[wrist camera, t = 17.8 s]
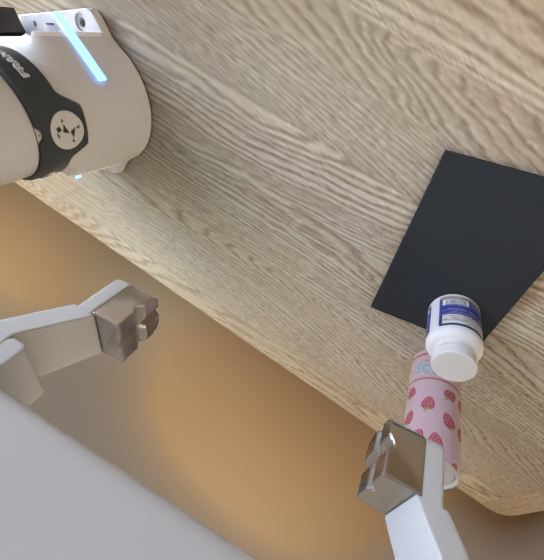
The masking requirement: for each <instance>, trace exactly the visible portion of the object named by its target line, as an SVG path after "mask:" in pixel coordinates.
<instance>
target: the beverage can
mask: <svg viewBox="0 0 544 560" xmlns="http://www.w3.org/2000/svg"><path fill="white" fill-rule="evenodd" d="M403 426H405V427H407V428H409V429H411V430H413V431H415V432H417V433H419V434H421V435H423V436H424V437H426V438H428V439H430V440H432V441H434V442H436V443H438V444H440V445H442V446H443V448H444V451H445V456H444V489H450V488H453V487H455V486H456V485H457V484H458V482H459V476H460V474H461V382H454V381H449V380H446V379H443V378H441V377H439V376H438V375H437V374H436V373H435V372H434V371H433V370H432V367H431V356H430V355H429V354H428V352H427V350H423V351H420V352H418V353H417V354H416V355H415V356H414V357H413V360H412V367H411V375H410V382H409V389H408V396H407V404H406V411H405V418H404V425H403Z"/></svg>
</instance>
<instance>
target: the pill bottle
mask: <svg viewBox="0 0 544 560" xmlns="http://www.w3.org/2000/svg"><path fill="white" fill-rule="evenodd" d="M425 346H426V350H427V352H428V354H429V355H430V356H431V367H432V370H433V371H434V372H435V373H436V374H437V375H438V376H439V377H441V378H443V379H446V380H449V381H454V382H463V381H467V380H470V379H472V378H473V377H474V376H475V375H476V374H477V371H478V361H479V360H480V358H481V357H482V355H483V352H484V343H483V334H482V323H481V314H480V309H479V307H478V305H477V304H476V303H475V302H474V301H473V300H471V299H470V298H468V297H466V296H463V295H458V294H448V295H444V296H441V297H438V298H437V299H435V300H434V301H433V302H432V303H431V304H430V306H429V310H428V317H427V328H426V338H425Z"/></svg>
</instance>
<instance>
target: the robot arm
mask: <svg viewBox="0 0 544 560" xmlns="http://www.w3.org/2000/svg"><path fill="white" fill-rule="evenodd" d="M150 133H151V109H150V104H149V99H148V96H147V92H146V89H145V86H144V84H143V82H142V79H141V77H140V75H139V73H138V71H137V70H136V68H135V66H134V65H133V63H132V61H131V60H130V59H129V57H128V56H127V55H126V53H125V52H124V51H123V50H122V49H121V48H120V47H119V45H118V44H117V43H116V42H115V40H114V39H113V38H112V36H111V34H110V32H109V30H108V27H107V25H106V23H105V22H104V20H103V18H102V16H101V15H100V13H99V12H98V11H97V10H96V9H94V8H82V9H72V10H61V11H51V12H41V13H31V14H21V15H17V14H16V12H15V10H14V8H9V7H0V186H2V185H5V184H8V183H10V182H14V181H17V180H20V179H23V180H34V179H37V178H45V177H48V176H51V175H53V174H54V173H57V172H62V173H64V174H67V176H71V177H74V176H75V178H76V179H78V178H81V175H82V174H86V173H90V172H94V171H98V170H102V169H106V170H108V171H110V172H111V173H114V174H116V173H120V172H122V171H123V170H124V168H125V167H126V165H127V162H128V161H129V160H130V159H132V158H134V157H136V156H138V155H139V154H140V153H141V152H142V151H143V150H144V149H145V147H146V146H147V143H148V141H149V138H150ZM157 307H158V300H157V299H156V298H154V297H152V296H150V295H148V294H147V293H145V292H143V291H141V290H139V289H137V288H135V287H133V286H132V285H130V284H128V283H126V282H124V281H122V280H120V279H119V280H115V281H113V282H112V283H110V284H109V285H107V286H106V287H105V288H103V289H102V290H100V291H99V292H97V293H96V294H94V295H93V296H92V297H90V298H89V299H87V300H86V301H84V302H83V303H81V304H80V305H79V306H77V305H75V304H73V305H68V306H63V307H59V308H54V309H49V310H45V311H40V312H36V313H30V314H26V315H21V316H16V317H12V318H7V319H2V320H0V560H257V559H256V558H254V557H253V556H251V555H250V554H248V553H246V552H245V551H244V550H242V549H240V548H239V547H238V546H236V545H234V544H233V543H232V542H230V541H229V540H227V539H226V538H224V537H222V536H221V535H219V534H218V533H216V532H215V531H213V530H212V529H210V528H209V527H207V526H206V525H204V524H203V523H201V522H200V521H198V520H197V519H195V518H194V517H192V516H191V515H189V514H188V513H186V512H185V511H183V510H182V509H180V508H179V507H177V506H176V505H174V504H173V503H171V502H169V501H168V500H166V499H165V498H164V497H162V496H161V495H159V494H157V493H156V492H154V491H153V490H151V489H150V488H148V487H147V486H145V485H144V484H142V483H141V482H139V481H138V480H136V479H135V478H133V477H132V476H130V475H129V474H127V473H126V472H124V471H123V470H121V469H120V468H118V467H117V466H115V465H114V464H112V463H111V462H109V461H108V460H106V459H105V458H103V457H101V456H100V455H98V454H97V453H96V452H94V451H92V450H91V449H89V448H88V447H86V446H85V445H83V444H82V443H80V442H79V441H77V440H76V439H74V438H73V437H71V436H70V435H68V434H67V433H65V432H64V431H62V430H61V429H59V428H58V427H56V426H55V425H53V424H52V423H50V422H49V421H47V420H46V419H44V418H42V417H41V416H40V415H38V414H36V413H35V412H33V411H32V410H31V409H29V408H28V406H29V405H30V404H31V403H33V402H34V401H35V400H36V399H37V398H38V397H39V396H41V395H42V394H43V393H44V390H45V387H44V386H43V383H42V381H41V379H40V376H42V375H45V374H48V373H50V372H53V371H56V370H58V369H61V368H63V367H66V366H68V365H71V364H74V363H76V362H79V361H81V360H84V359H87V358H89V357H92V356H94V355H97V354H99V353H102V351H103V352H105V353H107V354H109V355H111V356H112V357H115V358H116V359H118V360H120V361H122V362H124V361H125V360H126V359H127V358H128V357H129V356H130V355H131V354H132V353H133V352H134V351H135V350H136V349H137V347H138V342H139V341H143V340H146V339H148V338H149V337H150V336H151V335H152V334H153V332H154V330H155V329H156V327H157V325H158V321H159V315H158V313H157V312H156V310H155V309H156V308H157ZM444 456H445V451H444V448H443V446H442V445H440V444H438V443H436V442H434V441H432V440H430V439H428V438H426V437H424V436H423V435H421V434H419V433H417V432H415V431H413V430H411V429H409V428H407V427H405V426H403V425H401V424H399V423H397V422H395V421H393V420H391V419H390V420H387V422H386V423H385V424H384V427H383V431H378V432H377V433H376V434H375V435H374V437H373V438H372V440H371V442H370V444H369V447H368V450H367V455H366V458H365V461H366V464H367V466H368V469H367V470H366V471H365V472H364V473H363V474H362V476H361V481H360V485H359V490H358V495H357V498H358V499H360V500H362V501H363V502H365V503H367V504H368V505H370V506H371V507H373V508H375V509H376V510H378V511H380V512H381V513H383V514H385V516H384V517H385V521H386V525H387V529H388V533H389V537H390V541H391V545H392V549H393V553H394V557H395V560H470V559H469V557H468V554H467V552H466V550H465V548H464V546H463V543H462V541H461V539H460V536H459V534H458V532H457V530H456V527H455V525H454V523H453V521H452V519H451V516H450V514H449V512H448V511H446V510H445V509H443V492H444Z"/></svg>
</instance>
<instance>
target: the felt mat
mask: <svg viewBox="0 0 544 560" xmlns="http://www.w3.org/2000/svg"><path fill="white" fill-rule="evenodd" d="M543 271H544V177H543V176H539V175H536V174H532V173H529V172H525V171H521V170H518V169H514V168H510V167H507V166H503V165H499V164H496V163H492V162H488V161H485V160H481V159H477V158H474V157H470V156H466V155H463V154H459V153H455V152H452V151H448V150H445V152H444V154H443V156H442V158H441V160H440V162H439V164H438V166H437V169H436V171H435V173H434V175H433V177H432V179H431V181H430V183H429V185H428V187H427V190H426V192H425V194H424V196H423V198H422V200H421V202H420V204H419V206H418V209H417V211H416V213H415V215H414V217H413V219H412V221H411V223H410V225H409V227H408V230H407V232H406V234H405V236H404V238H403V240H402V242H401V244H400V246H399V249H398V251H397V253H396V255H395V257H394V259H393V261H392V263H391V265H390V267H389V270H388V272H387V274H386V276H385V278H384V280H383V282H382V284H381V286H380V289H379V291H378V293H377V295H376V297H375V299H374V301H373V303H372V305H371V307H372V308H375V309H377V310H380V311H382V312H385V313H387V314H390V315H392V316H395V317H397V318H400V319H402V320H405V321H407V322H410V323H412V324H415V325H417V326H419V327H422V328H424V329H426V328H427V317H428V310H429V306H430V304H431V303H432V302H433V301H434V300H435V299H437V298H438V297H441V296H444V295H448V294H458V295H463V296H466V297H468V298H470V299H471V300H473V301H474V302H475V303H476V304H477V305H478V307H479V309H480V314H481V323H482V334H483V341H484V340H485V339H486V337H487V336H488V335H489V334H490V333H491V332H492V330H493V329H494V328H495V327H496V326H497V324H498V323H499V322H500V321H501V320H502V319H503V317H504V316H505V315H506V314H507V313H508V312H509V310H510V309H511V308H512V307H513V306H514V305H515V303H516V302H517V301H518V300H519V299H520V298H521V296H522V295H523V294H524V293H525V292H526V291H527V289H528V288H529V287H530V286H531V285H532V284H533V282H534V281H535V280H536V279H537V278H538V277H539V275H540V274H541V273H542V272H543Z"/></svg>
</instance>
